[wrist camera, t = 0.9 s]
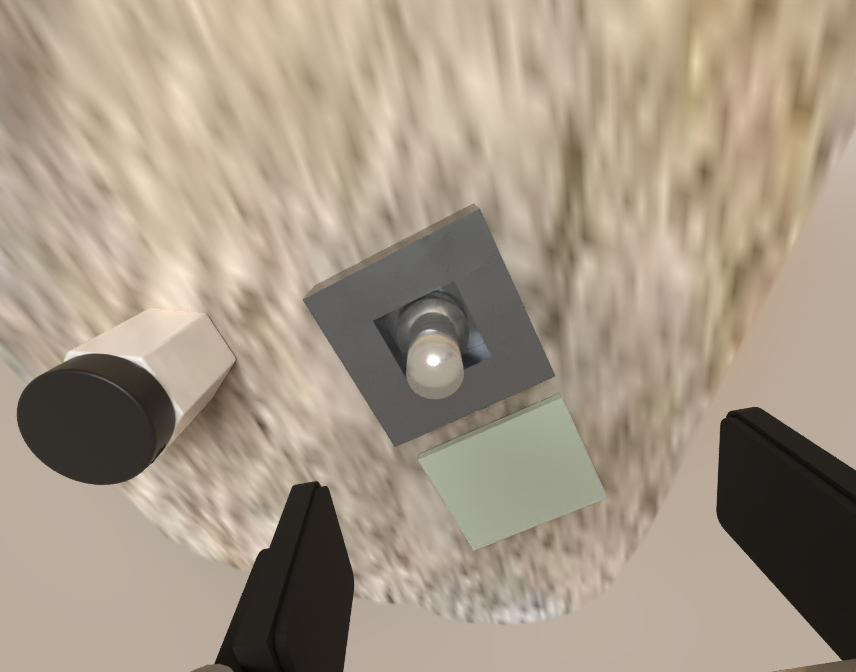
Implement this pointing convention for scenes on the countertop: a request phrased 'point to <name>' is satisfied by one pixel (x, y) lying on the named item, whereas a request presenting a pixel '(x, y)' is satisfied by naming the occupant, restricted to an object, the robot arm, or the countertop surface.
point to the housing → (409, 280)
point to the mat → (514, 473)
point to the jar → (124, 395)
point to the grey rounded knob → (433, 344)
